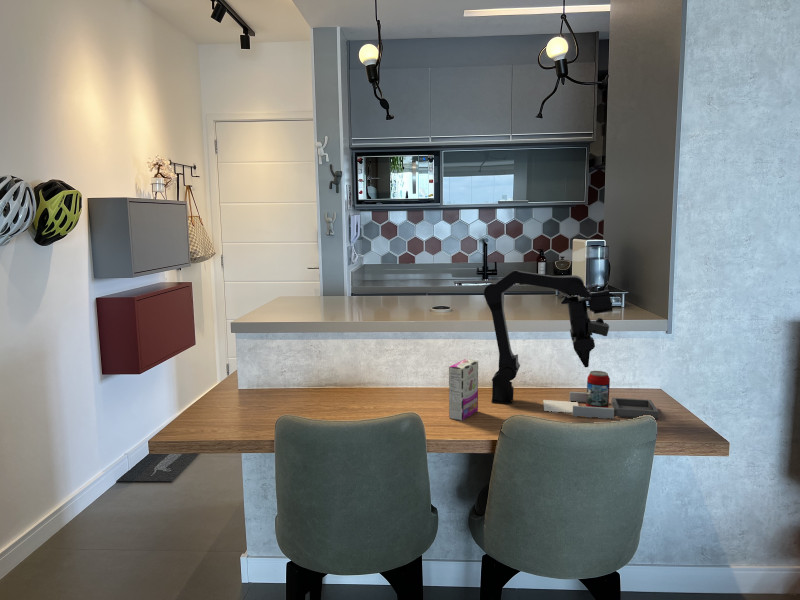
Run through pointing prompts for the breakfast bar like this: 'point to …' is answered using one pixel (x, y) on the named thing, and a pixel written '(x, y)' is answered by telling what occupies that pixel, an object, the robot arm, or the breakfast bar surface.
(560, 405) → the pad
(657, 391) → the breakfast bar surface
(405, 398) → the breakfast bar surface
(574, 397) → the channel walls
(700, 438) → the breakfast bar surface
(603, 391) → the beverage can
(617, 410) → the box
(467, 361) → the candy bar box
